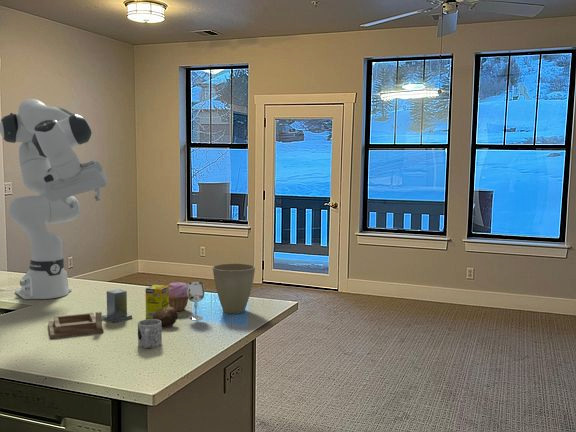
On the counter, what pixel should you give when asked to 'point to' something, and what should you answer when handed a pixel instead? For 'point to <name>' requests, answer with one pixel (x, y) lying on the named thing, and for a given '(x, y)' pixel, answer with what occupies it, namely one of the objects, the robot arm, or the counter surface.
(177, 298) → the cupcake
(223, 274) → the plant pot
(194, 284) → the wineglass
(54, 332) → the brown wooden square tray
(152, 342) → the mug
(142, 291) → the counter surface
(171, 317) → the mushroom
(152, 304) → the supplement box
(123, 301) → the grey block on base
